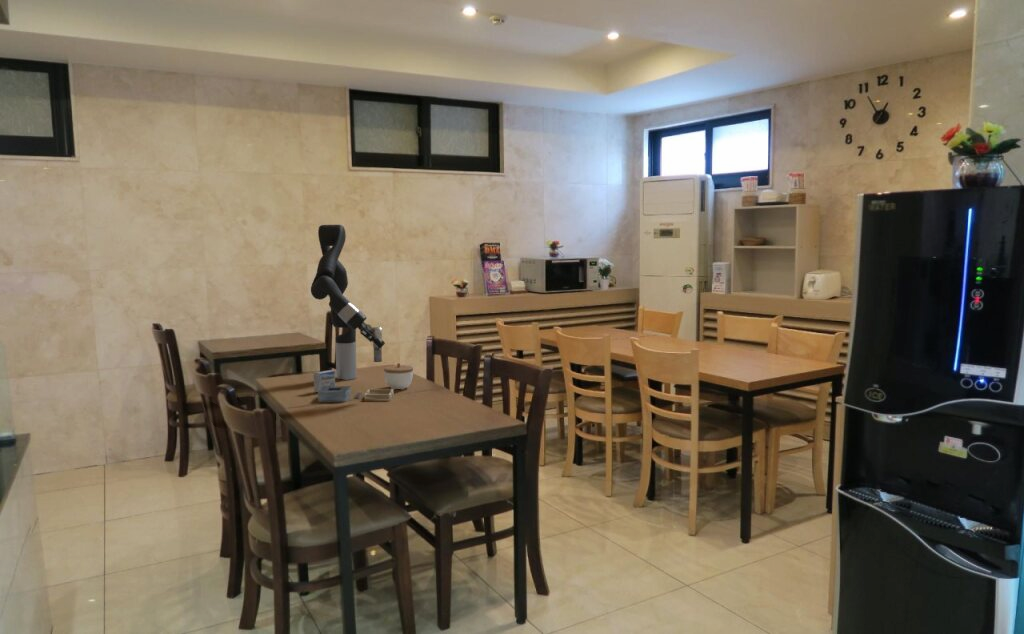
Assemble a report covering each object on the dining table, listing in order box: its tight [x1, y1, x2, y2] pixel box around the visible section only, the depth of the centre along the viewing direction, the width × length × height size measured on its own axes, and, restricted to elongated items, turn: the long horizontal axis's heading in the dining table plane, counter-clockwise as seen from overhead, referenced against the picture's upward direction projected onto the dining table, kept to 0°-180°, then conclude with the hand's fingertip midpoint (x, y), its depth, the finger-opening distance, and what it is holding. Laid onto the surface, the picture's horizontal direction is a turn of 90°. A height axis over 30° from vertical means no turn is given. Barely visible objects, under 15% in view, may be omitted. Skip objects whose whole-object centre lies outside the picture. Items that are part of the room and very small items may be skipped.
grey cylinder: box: [372, 326, 383, 363], centre depth 276 cm, size 4×4×14 cm
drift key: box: [354, 392, 363, 399], centre depth 281 cm, size 7×2×1 cm, turn 3°
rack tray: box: [363, 388, 395, 402], centre depth 278 cm, size 10×10×2 cm
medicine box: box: [313, 369, 336, 393], centre depth 290 cm, size 8×4×9 cm, turn 143°
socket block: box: [317, 385, 352, 403], centre depth 276 cm, size 11×11×4 cm
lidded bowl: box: [383, 362, 414, 390], centre depth 297 cm, size 13×13×11 cm
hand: (382, 345), depth 276 cm, fingers closed on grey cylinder, 3 cm apart
